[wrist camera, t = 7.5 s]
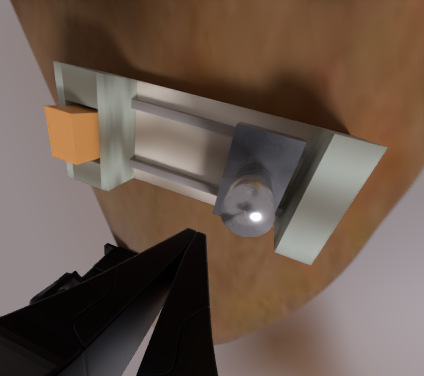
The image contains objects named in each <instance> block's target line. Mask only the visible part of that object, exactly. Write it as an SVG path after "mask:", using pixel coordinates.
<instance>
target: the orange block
mask: <svg viewBox="0 0 424 376" xmlns="http://www.w3.org/2000/svg"><path fill="white" fill-rule="evenodd" d="M44 107H45V114H46V120H47V126H48V131H49V138H50V144H51V150H52V156H53V157H55V158H58V159H61V160H64V161H66V162H69V163H72V164H75V165H78V164H82V163H85V162H88V161H91V160H95V159H98V158H100V145H99V124H98V111H96V110H93V109H90V108H86V107H83V106H44Z"/></svg>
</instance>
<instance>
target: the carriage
mask: <svg viewBox="0 0 424 376" xmlns="http://www.w3.org/2000/svg"><path fill="white" fill-rule="evenodd" d="M306 144H307V142H306V141H305V140H304V139H303V138H300V137H296V136H292V135H289V134H285V133H281V132H277V131H274V130H270V129H266V128H263V127H259V126H255V125H251V124H248V123H244V122H239V123H237V125H236V128H235V132H234V136H233V139H232V143H231V147H230V150H229V154H228V158H227V162H226V165H225V169H224V173H223V176H222V180H221V184H220V187H219V191H218V195H217V198H216V202H215V206H214V209H213V214H216V215H218V216H221V218H222V221H223V222H224V224H225V226H226V227H227V228H228V229H229V230H230V231H232V232H233V233H235V234H237V235H240V236H243V237H257V236H260V235H262V234H264V233H266V232H267V231H268V230H269V229H270V228H271V227H272V225H273V223H274V219H275V212H276V210H277V208H278V206H279V203H280V201H281V199H282V197H283V195H284V192H285V190H286V188H287V186H288V183H289V181H290V179H291V177H292V175H293V172H294V170H295V168H296V166H297V164H298V161H299V159H300V157H301V155H302V152H303V150H304V148H305V146H306Z"/></svg>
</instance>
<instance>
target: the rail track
mask: <svg viewBox="0 0 424 376" xmlns="http://www.w3.org/2000/svg"><path fill="white" fill-rule="evenodd" d="M53 63H54V71H55V79H56V86H57V94H58V102H59V106H83V107H86V108H90V109H93V110H96V111H98V124H99V145H100V158H98V159H95V160H91V161H88V162H85V163H82V164H78V165H75V164H72V163H69V162H67V170H68V177H70V178H73V179H76V180H78V181H81V182H84V183H86V184H89V185H92V186H95V187H97V188H100V189H103V190H106V191H109V190H111V189H113V188H115V187H117V186H119V185H120V184H122V183H124V182H126V181H128V180H130V179H132V178H137V179H139V180H142V181H145V182H148V183H151V184H154V185H157V186H160V187H163V188H166V189H169V190H171V191H174V192H177V193H180V194H183V195H186V196H189V197H192V198H195V199H198V200H201V201H203V202H206V203H209V204H212V205H215V202H216V198H217V195H218V191H219V187H220V184H221V180H222V176H223V173H224V169H225V165H226V162H227V158H228V154H229V150H230V147H231V143H232V139H233V136H234V132H235V128H236V125H237V123H239V122H244V123H248V124H251V125H255V126H259V127H263V128H266V129H270V130H274V131H277V132H281V133H285V134H289V135H292V136H296V137H300V138H303V139H304V140H305V141H306V142H307V144H306V146H305V148H304V150H303V152H302V155H301V157H300V159H299V161H298V164H297V166H296V168H295V170H294V172H293V175H292V177H291V179H290V181H289V183H288V186H287V188H286V190H285V192H284V195H283V197H282V199H281V201H280V203H279V206H278V208H277V210H276V212H275V219H274V223H273V226H274V249H275V252H276V253H279V254H281V255H284V256H287V257H290V258H292V259H295V260H298V261H301V262H303V263H306V264H309V265H311V264H312V263H313V261H314V260H315V258H316V257H317V255H318V253H319V252H320V250H321V249H322V247H323V246H324V244H325V243H326V241H327V240H328V238H329V237H330V235H331V234H332V232H333V231H334V229H335V227H336V226H337V224H338V223H339V221H340V220H341V218H342V217H343V215H344V214H345V212H346V211H347V209H348V208H349V206H350V204H351V203H352V201H353V200H354V198H355V197H356V195H357V194H358V192H359V191H360V189H361V188H362V186H363V185H364V183H365V182H366V180H367V178H368V177H369V175H370V174H371V172H372V171H373V169H374V168H375V166H376V165H377V163H378V162H379V160H380V159H381V157H382V156H383V154H384V152H385V151H386V149H387V147H385V146H382V145H379V144H376V143H373V142H370V141H367V140H364V139H361V138H358V137H355V136H352V135H349V134H345V133H341V132H337V131H333V130H330V129H326V128H322V127H318V126H314V125H310V124H306V123H302V122H298V121H295V120H291V119H287V118H283V117H279V116H275V115H271V114H267V113H263V112H260V111H256V110H252V109H248V108H244V107H240V106H236V105H232V104H228V103H225V102H221V101H217V100H213V99H209V98H205V97H201V96H197V95H193V94H190V93H186V92H182V91H178V90H174V89H170V88H166V87H162V86H158V85H155V84H151V83H147V82H143V81H139V80H135V79H131V78H127V77H123V76H120V75H116V74H112V73H108V72H103V71H99V70H94V69H89V68H85V67H80V66H75V65H70V64H66V63H61V62H56V61H53Z"/></svg>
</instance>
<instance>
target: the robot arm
mask: <svg viewBox="0 0 424 376" xmlns="http://www.w3.org/2000/svg"><path fill="white" fill-rule="evenodd" d="M104 249H105V250H104V251H105V256H104V257H103V258H102V259H101V260H99V262H97V263H96V264H95V265H94V266H93V268H92V269H90V270H89V271H88V272H87V273H86V274H85V275H84V276H83V277H81V276H80V275H79V274H78V273H77V272H76V271H74V272H73V273H65V274H64V275H63V276H62V277H60V278H59V279H58V280H57V281H55V282H54V283H53V284H51V285H50V286H49V287H47V288H46V289H44V290H43V291H41V292H40V293H39V294H37V295H36V296H34V297H33V298H32V299H31V300H30V304H29V305H28V306H26V307H24V308H21V309H19V310H16V311H14V312H12V313H9V314H7V315H4V316H1V317H0V376H121V375H122V374H123V372H124V371H125V369H126V367H127V365H128V364H129V362H130V360H131V359H132V357H133V355H134V354H135V352H136V351H137V349H138V347H139V346H140V344H141V342H142V341H143V339H144V337H145V336H146V334H147V332H148V330H149V329H150V327H151V325H152V324H153V322H154V320H155V319H156V317H157V315H158V314H159V312H160V310H161V309H162V311H161V313H160V316H159V318H158V321H157V323H156V326H155V329H154V331H153V334H152V337H151V339H150V341H149V345H148V346H147V349H146V352H145V354H144V357H143V359H142V362H141V364H140V367H139V370H138V372H137V375H136V376H218V372H217V366H216V361H215V353H214V346H213V339H212V328H211V315H210V299H209V281H208V262H207V243H206V235H205V234H203V233H200V232H196V231H195V230H192V229H190V228H187V229H185V230H183V231H181V232H179V233H178V234H176V235H174V236H172V237H170V238H168V239H166V240H164V241H162V242H160V243H158V244H157V245H155V246H153V247H151V248H149V249H147V250H145V251H143V252H141V253H139V254H137V255H136V254H133V253H131V252H129V251H126V250H124V249H121V248H119V247H116V246H114V245H111V244H109V243H107V244H106V245H104ZM162 307H163V308H162Z"/></svg>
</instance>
